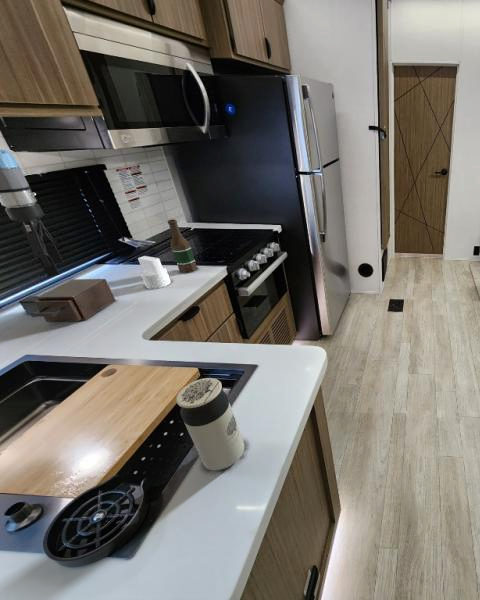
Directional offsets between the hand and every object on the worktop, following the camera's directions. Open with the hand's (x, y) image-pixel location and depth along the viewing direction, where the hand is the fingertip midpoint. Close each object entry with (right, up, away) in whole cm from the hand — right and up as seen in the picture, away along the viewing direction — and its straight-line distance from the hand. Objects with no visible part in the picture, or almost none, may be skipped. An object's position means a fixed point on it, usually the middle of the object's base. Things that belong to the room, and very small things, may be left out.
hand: (56, 268), depth 111 cm
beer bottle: (+16, +3, +45) cm, 48 cm away
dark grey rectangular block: (-18, -15, +12) cm, 27 cm away
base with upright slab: (+11, -4, +32) cm, 34 cm away
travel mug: (+79, -44, -41) cm, 99 cm away
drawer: (-2, -16, +8) cm, 18 cm away
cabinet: (-2, -14, +13) cm, 19 cm away
